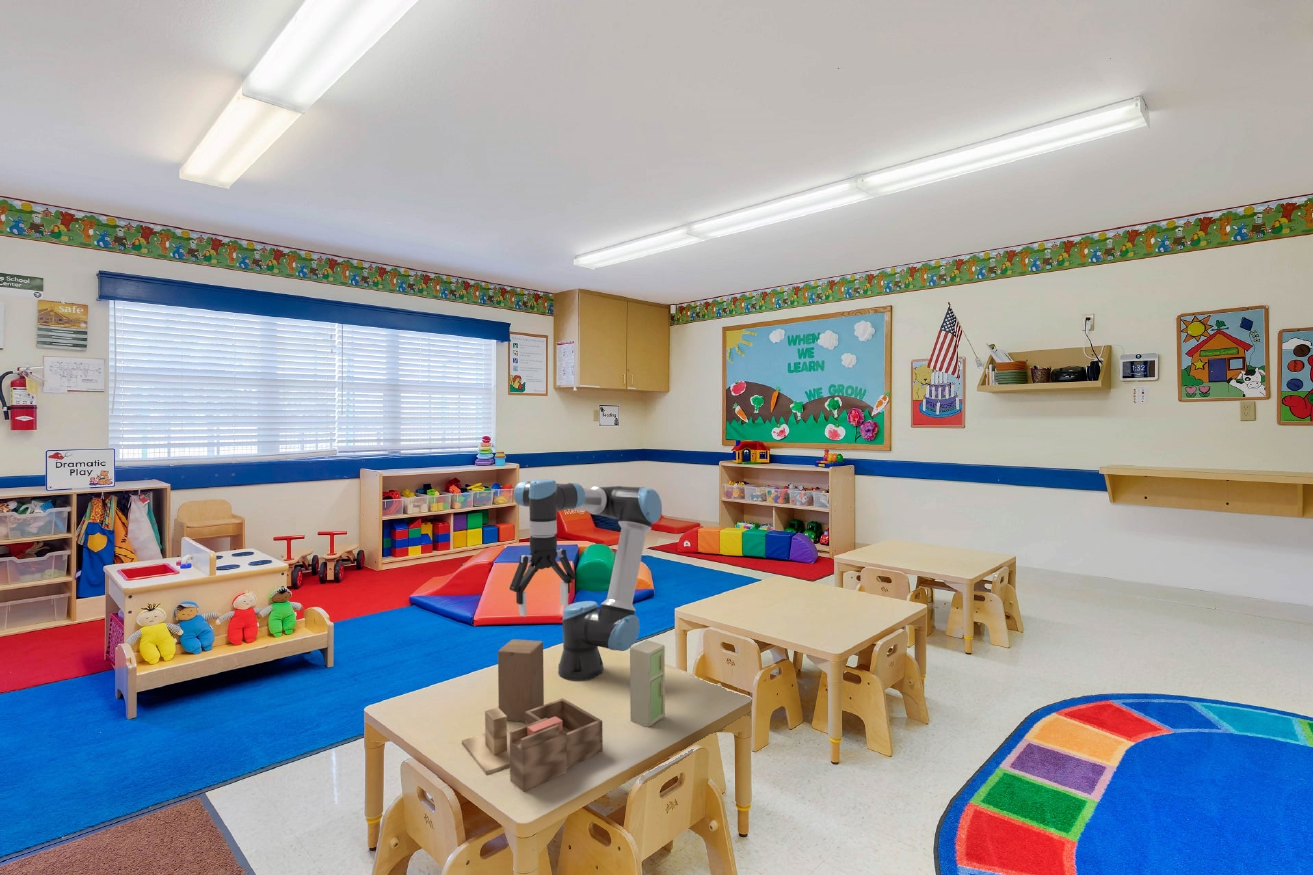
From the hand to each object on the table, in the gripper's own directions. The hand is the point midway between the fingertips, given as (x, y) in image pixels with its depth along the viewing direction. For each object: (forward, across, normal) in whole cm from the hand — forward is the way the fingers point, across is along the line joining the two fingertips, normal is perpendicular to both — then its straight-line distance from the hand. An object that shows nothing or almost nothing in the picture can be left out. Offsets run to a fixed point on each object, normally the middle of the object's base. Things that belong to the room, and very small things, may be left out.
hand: (544, 610), depth 177 cm
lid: (+32, +18, +5) cm, 37 cm away
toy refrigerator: (+32, -22, +19) cm, 43 cm away
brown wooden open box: (+32, +10, +16) cm, 37 cm away
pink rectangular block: (+22, +14, +22) cm, 35 cm away
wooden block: (+32, +2, -9) cm, 33 cm away
